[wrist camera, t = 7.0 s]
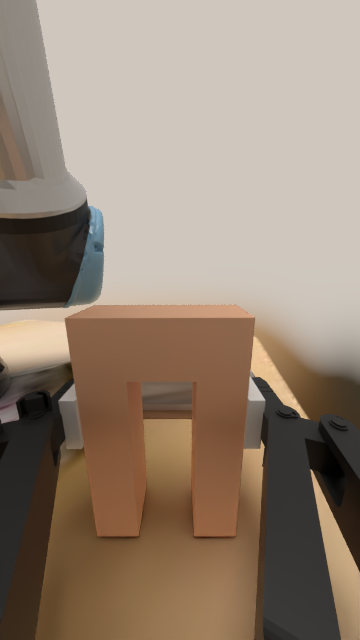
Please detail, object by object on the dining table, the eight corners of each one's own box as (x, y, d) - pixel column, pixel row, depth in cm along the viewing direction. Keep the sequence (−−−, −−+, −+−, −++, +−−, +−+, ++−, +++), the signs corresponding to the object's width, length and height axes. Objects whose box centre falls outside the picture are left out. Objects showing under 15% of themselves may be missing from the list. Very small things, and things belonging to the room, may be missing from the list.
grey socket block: (266, 417, 21) (270, 383, 20) (94, 418, 22) (90, 384, 21) (239, 371, 31) (241, 346, 30) (121, 371, 31) (119, 347, 30)
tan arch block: (235, 536, 12) (255, 317, 9) (97, 536, 12) (64, 318, 9) (224, 483, 15) (236, 304, 12) (113, 483, 15) (93, 305, 12)
